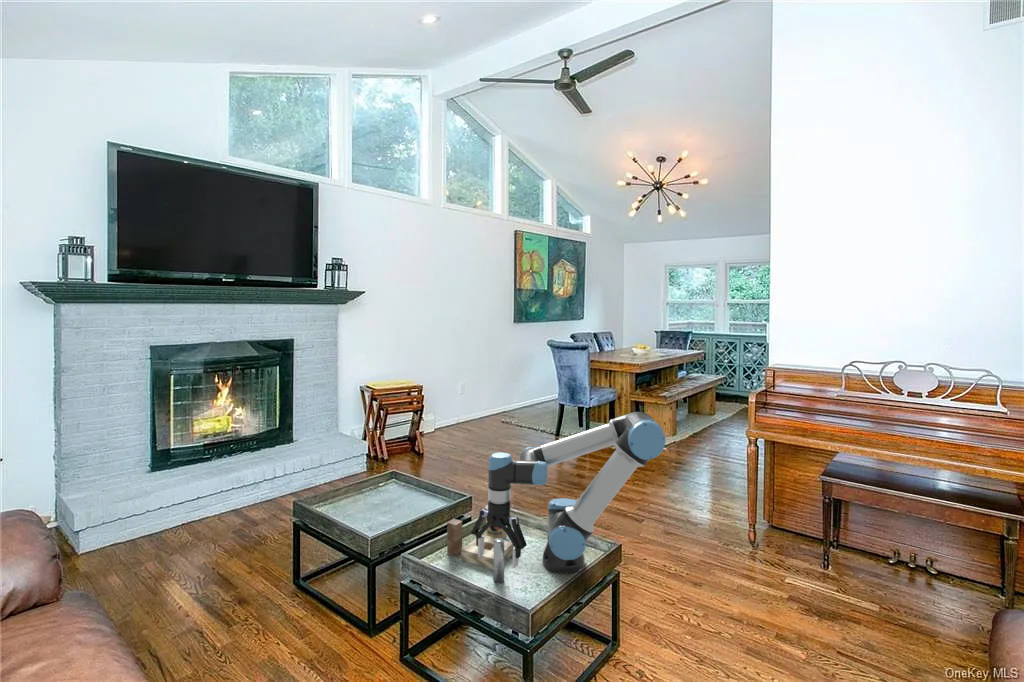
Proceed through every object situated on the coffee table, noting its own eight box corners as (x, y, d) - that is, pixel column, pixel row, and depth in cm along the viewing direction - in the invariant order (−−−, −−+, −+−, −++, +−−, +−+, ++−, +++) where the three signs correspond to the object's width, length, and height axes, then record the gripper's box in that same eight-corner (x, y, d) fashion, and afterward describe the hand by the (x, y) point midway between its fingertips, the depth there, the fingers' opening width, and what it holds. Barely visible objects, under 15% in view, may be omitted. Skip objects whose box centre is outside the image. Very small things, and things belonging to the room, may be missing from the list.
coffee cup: (482, 540, 207) (482, 510, 206) (487, 529, 216) (487, 501, 215) (505, 542, 205) (506, 512, 204) (509, 531, 214) (510, 503, 213)
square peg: (462, 552, 197) (462, 521, 196) (456, 556, 193) (456, 525, 192) (453, 549, 199) (453, 518, 198) (447, 553, 195) (447, 522, 194)
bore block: (513, 553, 196) (513, 542, 196) (493, 570, 184) (494, 559, 184) (482, 544, 203) (482, 534, 203) (461, 559, 191) (461, 549, 191)
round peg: (506, 579, 178) (506, 539, 177) (500, 584, 175) (500, 544, 174) (496, 576, 180) (497, 537, 179) (491, 581, 177) (491, 541, 176)
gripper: (537, 504, 172) (535, 566, 174) (474, 488, 184) (473, 546, 186) (527, 512, 166) (525, 576, 167) (462, 495, 178) (460, 555, 180)
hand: (497, 560), depth 177 cm, fingers open, 13 cm apart
